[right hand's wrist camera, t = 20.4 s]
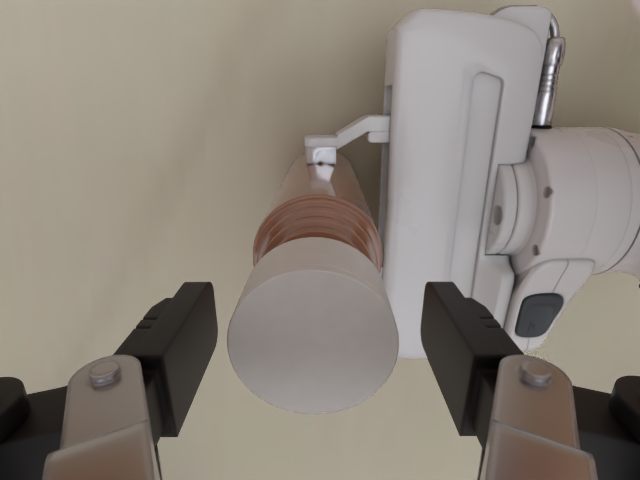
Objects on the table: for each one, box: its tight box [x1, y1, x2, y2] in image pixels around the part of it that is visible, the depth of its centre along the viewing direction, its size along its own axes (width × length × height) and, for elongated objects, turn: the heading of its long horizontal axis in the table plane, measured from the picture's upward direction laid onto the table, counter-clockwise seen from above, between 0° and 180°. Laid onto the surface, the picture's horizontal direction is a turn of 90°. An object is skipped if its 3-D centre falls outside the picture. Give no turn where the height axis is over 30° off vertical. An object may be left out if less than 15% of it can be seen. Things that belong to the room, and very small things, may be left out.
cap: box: [227, 237, 399, 414], centre depth 11 cm, size 4×4×2 cm
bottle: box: [253, 151, 383, 274], centre depth 20 cm, size 5×5×20 cm
